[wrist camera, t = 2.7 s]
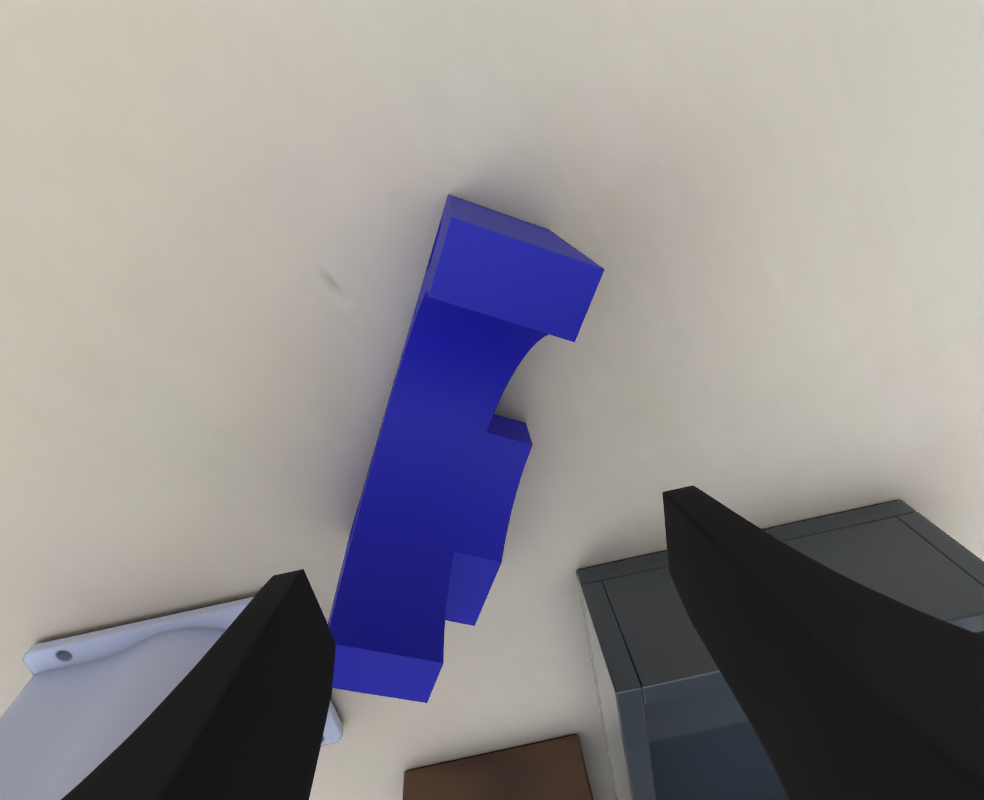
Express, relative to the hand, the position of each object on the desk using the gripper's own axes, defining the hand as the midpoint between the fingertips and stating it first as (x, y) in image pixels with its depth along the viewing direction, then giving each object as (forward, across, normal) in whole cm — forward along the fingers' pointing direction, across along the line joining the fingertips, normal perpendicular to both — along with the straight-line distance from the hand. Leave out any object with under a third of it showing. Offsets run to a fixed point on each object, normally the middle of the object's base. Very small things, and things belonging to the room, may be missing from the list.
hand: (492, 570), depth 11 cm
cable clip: (+8, 0, 0) cm, 8 cm away
